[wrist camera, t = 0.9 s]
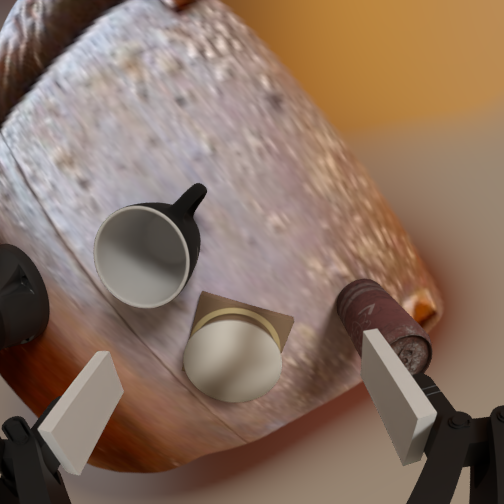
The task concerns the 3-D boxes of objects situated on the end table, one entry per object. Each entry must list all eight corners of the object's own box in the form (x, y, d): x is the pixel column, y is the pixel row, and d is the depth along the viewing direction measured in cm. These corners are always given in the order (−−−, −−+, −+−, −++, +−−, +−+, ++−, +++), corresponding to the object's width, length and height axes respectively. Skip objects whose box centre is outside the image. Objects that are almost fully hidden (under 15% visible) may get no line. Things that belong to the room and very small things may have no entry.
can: (347, 334, 37) (382, 405, 24) (327, 292, 36) (361, 355, 22) (390, 311, 36) (441, 372, 23) (373, 268, 35) (428, 318, 22)
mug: (178, 289, 37) (151, 328, 27) (120, 241, 35) (77, 264, 26) (243, 210, 34) (237, 224, 24) (180, 158, 33) (149, 152, 23)
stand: (183, 365, 39) (175, 387, 34) (202, 290, 36) (194, 307, 32) (264, 387, 39) (264, 411, 35) (293, 316, 37) (297, 337, 32)
